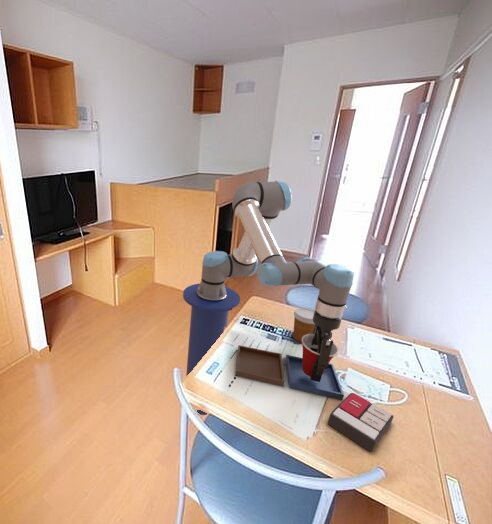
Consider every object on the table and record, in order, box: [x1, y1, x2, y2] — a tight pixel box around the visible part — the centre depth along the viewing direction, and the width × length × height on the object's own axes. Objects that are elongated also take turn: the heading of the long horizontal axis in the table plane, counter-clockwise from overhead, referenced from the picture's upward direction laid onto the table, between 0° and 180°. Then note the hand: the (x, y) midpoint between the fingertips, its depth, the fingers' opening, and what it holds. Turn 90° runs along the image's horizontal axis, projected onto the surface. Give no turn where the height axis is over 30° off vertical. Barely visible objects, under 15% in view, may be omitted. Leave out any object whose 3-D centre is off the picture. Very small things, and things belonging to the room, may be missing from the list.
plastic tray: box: [284, 354, 345, 401], centre depth 104 cm, size 15×15×2 cm
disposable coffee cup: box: [292, 307, 315, 344], centre depth 123 cm, size 10×10×12 cm
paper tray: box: [235, 344, 285, 387], centre depth 109 cm, size 15×15×2 cm
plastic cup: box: [301, 334, 340, 377], centre depth 101 cm, size 11×11×12 cm
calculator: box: [327, 392, 394, 452], centre depth 86 cm, size 11×4×15 cm
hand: (312, 371), depth 103 cm, fingers closed on plastic cup, 8 cm apart
